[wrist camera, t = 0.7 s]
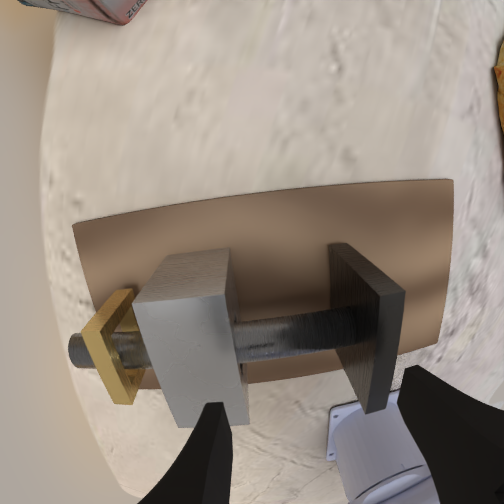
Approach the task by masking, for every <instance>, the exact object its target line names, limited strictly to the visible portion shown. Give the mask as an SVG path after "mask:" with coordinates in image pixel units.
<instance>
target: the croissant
mask: <svg viewBox="0 0 504 504" xmlns="http://www.w3.org/2000/svg"><path fill="white" fill-rule="evenodd" d="M494 71H495V74H496V77H497V82H498V85H499V88H498V93H497V97H498V99H497V100H498V107H499V117H500V121H501V126H502V129H503V133H504V41H503V44H502V46H501V48H500V54H499V58H498V63H497V66H494Z"/></svg>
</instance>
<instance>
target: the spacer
mask: <svg viewBox="0 0 504 504" xmlns="http://www.w3.org/2000/svg"><path fill="white" fill-rule="evenodd" d="M134 300H135V297H134V293H133V289H122V290H116V291H115V292H114V293H113V294H112V295H111V296H110V297H109V299H108V300H107V301H106V302H105V303H104V304H103V306H102V307H101V308H100V309H99V310H98V311H97V313H96V314H95V315H94V316H93V317H92V318H91V320H90V321H89V322H88V323H87V324H86V326H85V327H84V328H83V329H82V331H81V334H82V337H83V339H84V342H85V344H86V346H87V349H88V351H89V353H90V355H91V358H92V360H93V362H94V364H95V367H96V369H97V371H98V373H99V375H100V377H101V379H102V381H103V383H104V385H105V387H106V389H107V391H108V393H109V395H110V397H111V399H112V401H113V402H114V404H123V405H133V402H134V399H135V397H136V394H137V391H138V389H139V386H140V384H141V381H142V379H143V376H144V374H145V371H146V369H124V366H123V364H122V361H121V359H120V357H119V354H118V352H117V349H116V347H115V344H114V341H113V339H112V336H111V335H112V334H113V332H114V331H115V329H116V328H117V326H118V325H119V323H120V326H121V329H122V332H126V331H140V329H139V326H138V323H137V319H136V316H135V313H134V310H133V306H132V302H133V301H134Z"/></svg>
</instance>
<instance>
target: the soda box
mask: <svg viewBox="0 0 504 504" xmlns="http://www.w3.org/2000/svg"><path fill="white" fill-rule="evenodd" d="M18 1H19V2H20V3H21V4H23V5H26V6H34V7H40V8H47V9H53V10H59V11H64V12H69V13H74V14H78V15H82V16H87V17H91V18H95V19H99V20H103V21H106V22H110V23H115V24H120V25H126V24H127V23H129V22H130V21H131V20H132V19H133V18H134V17H135V15H136V14H137V13H138V11H139V10H140V8H141V7H142V6H143V5H144V4H145V2H146V1H147V0H18Z"/></svg>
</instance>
